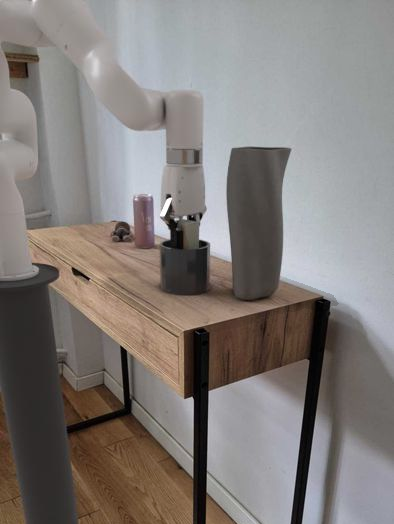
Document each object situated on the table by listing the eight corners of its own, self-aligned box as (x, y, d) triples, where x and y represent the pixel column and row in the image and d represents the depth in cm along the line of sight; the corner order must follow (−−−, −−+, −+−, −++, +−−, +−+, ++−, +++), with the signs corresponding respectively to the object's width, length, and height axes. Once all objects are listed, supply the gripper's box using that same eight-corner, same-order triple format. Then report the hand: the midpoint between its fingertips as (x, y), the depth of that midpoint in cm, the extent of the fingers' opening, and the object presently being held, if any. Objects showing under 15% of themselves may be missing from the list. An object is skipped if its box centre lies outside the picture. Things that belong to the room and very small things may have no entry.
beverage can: (151, 243, 151) (149, 193, 144) (157, 247, 146) (155, 196, 139) (132, 245, 149) (130, 194, 142) (138, 249, 144) (135, 197, 137)
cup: (188, 298, 104) (188, 252, 100) (150, 288, 110) (149, 244, 106) (219, 286, 112) (220, 243, 108) (182, 277, 118) (181, 236, 114)
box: (169, 270, 110) (169, 220, 105) (182, 266, 113) (182, 218, 108) (186, 275, 107) (186, 224, 102) (199, 271, 109) (200, 221, 105)
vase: (249, 308, 99) (258, 149, 86) (212, 293, 108) (216, 147, 95) (291, 297, 105) (306, 148, 92) (253, 283, 114) (262, 145, 101)
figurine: (134, 246, 153) (136, 233, 161) (134, 231, 150) (135, 219, 158) (108, 246, 153) (110, 233, 161) (106, 231, 150) (109, 219, 158)
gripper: (195, 155, 108) (195, 237, 115) (142, 159, 95) (145, 250, 103) (223, 157, 103) (220, 242, 111) (171, 161, 91) (172, 256, 99)
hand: (184, 245), depth 107 cm, fingers closed on box, 4 cm apart
